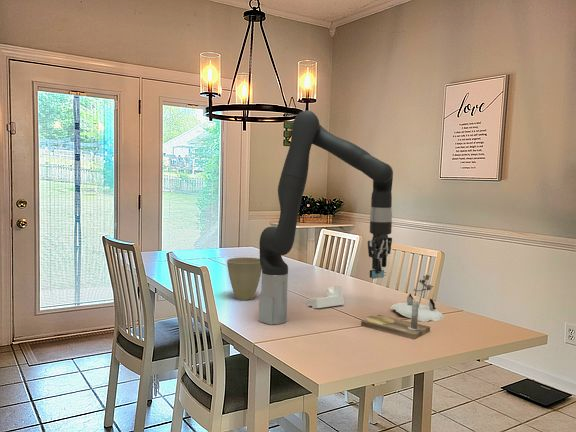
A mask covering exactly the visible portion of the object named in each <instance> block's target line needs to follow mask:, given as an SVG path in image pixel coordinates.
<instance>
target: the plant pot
mask: <svg viewBox="0 0 576 432" xmlns="http://www.w3.org/2000/svg"><path fill="white" fill-rule="evenodd" d="M226 264H227V265H226V266H227V271H228V272H227V273H228V277H229V281H230V285H231V288H232V292H233V295H234V297H235V299H236V298H237V299H236V300H239V299H241V300H240V301H249V299H250V300H252V299H254V297H255V295H256V292H257V289H258V286H259V282H260V279H261V276H262V267H261V264H260V258H257V257H248V256H247V257H245V256H244V257H243V256H241V257H231V258H227V260H226Z"/></svg>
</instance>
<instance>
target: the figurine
mask: <svg viewBox="0 0 576 432" xmlns="http://www.w3.org/2000/svg"><path fill="white" fill-rule="evenodd" d="M426 280H427V281H429V280H430V274H429V273H426V274H425V275H423V276H422V279H419V280H418V283H420V284H421V285H422V289H417V288H413V291H415V292H417V293H418V292H419V293H420V297H419V301H418V321H417V322H423V323H425V322H426V323H427V322H429V321H433V322H437V321H441V320H442V319H444V318H445V315H444V314H443V313H442V312H440V311H438V309H437V308H436V306H435V305H436V304H435V302H434V300H433V298H429V303H428V305H424V304H421V299H422V295H423V292H424V291H431V290H432V289H433V287H434V286H433V285H431V284H426V282H427V281H426ZM412 302H414V297H413V296H412V294H411V293H409V294H408V296H407V297H406V302H397V303H395V304H392V306H391V307H390V309H393V311H394V310H395V312H396V313H398V314H400V315H401V316H404V317H405V318H409V319H411V318H412Z"/></svg>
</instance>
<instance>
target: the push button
mask: <svg viewBox="0 0 576 432" xmlns="http://www.w3.org/2000/svg"><path fill="white" fill-rule="evenodd" d="M377 250H378V249H377ZM371 254H372V251H371ZM376 254H377V252H376ZM384 254H385V252H381V253H380V255H379V269H373V268H372V267H371V270H369V278H371V279H382V278H384V277H385V276H386V274H387V271H384V270H383V267H382V258H383V257H384Z"/></svg>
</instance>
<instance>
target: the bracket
mask: <svg viewBox="0 0 576 432" xmlns="http://www.w3.org/2000/svg"><path fill="white" fill-rule="evenodd" d="M326 295H327V296H324V297H316V298H309V299H308V298H307V299H306V301H305V302H306V306H308V307H311V308H312V309H320V308H321V309H322V308H328V307H335V306H342V305H343V306H344V305H345V302H344V293H343V285H335V286H334V287H333V286H332V285H331V286H326Z"/></svg>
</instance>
